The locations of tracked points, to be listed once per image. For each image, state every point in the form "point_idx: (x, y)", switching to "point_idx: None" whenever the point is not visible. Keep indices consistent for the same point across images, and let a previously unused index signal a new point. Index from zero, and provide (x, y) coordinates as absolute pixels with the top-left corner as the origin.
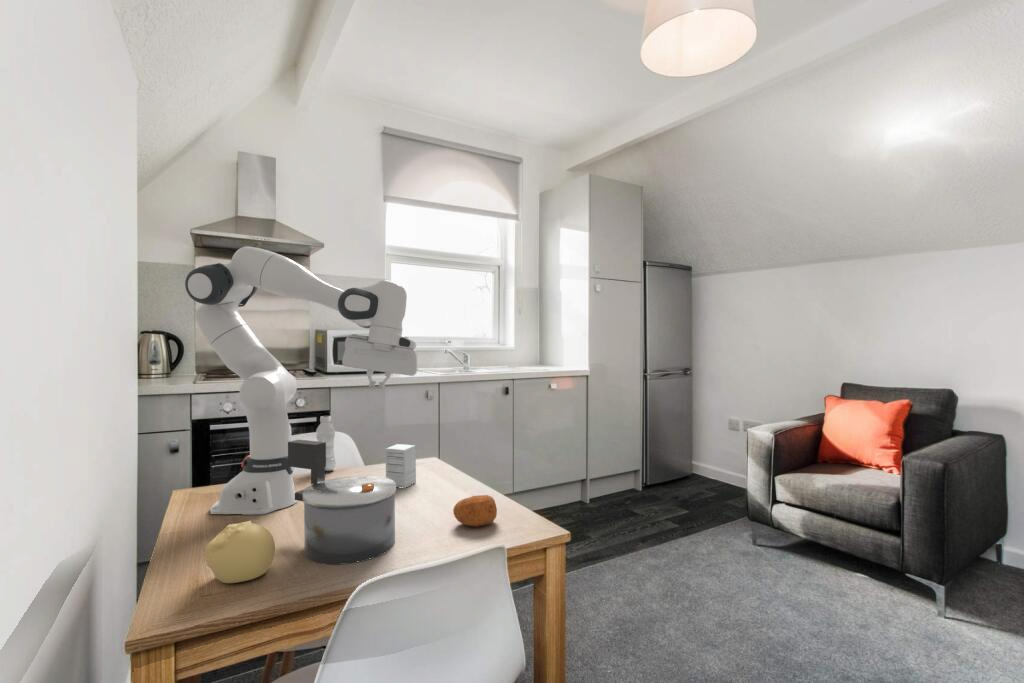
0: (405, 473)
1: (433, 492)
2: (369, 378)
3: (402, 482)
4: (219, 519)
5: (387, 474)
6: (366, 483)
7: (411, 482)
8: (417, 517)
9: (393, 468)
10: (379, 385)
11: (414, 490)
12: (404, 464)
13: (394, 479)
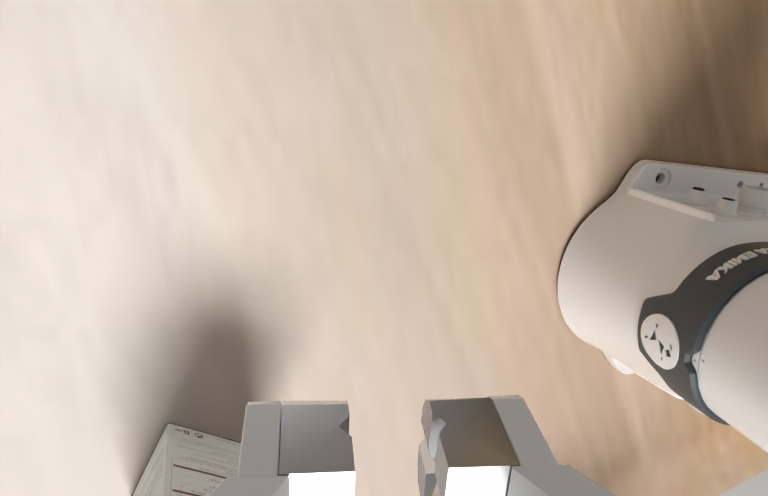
0: (163, 467)
1: (16, 370)
2: (585, 491)
3: (179, 440)
4: (751, 134)
5: None
6: None
7: (144, 472)
8: (33, 29)
9: None
10: (335, 423)
11: (118, 399)
12: (165, 492)
13: (219, 456)
